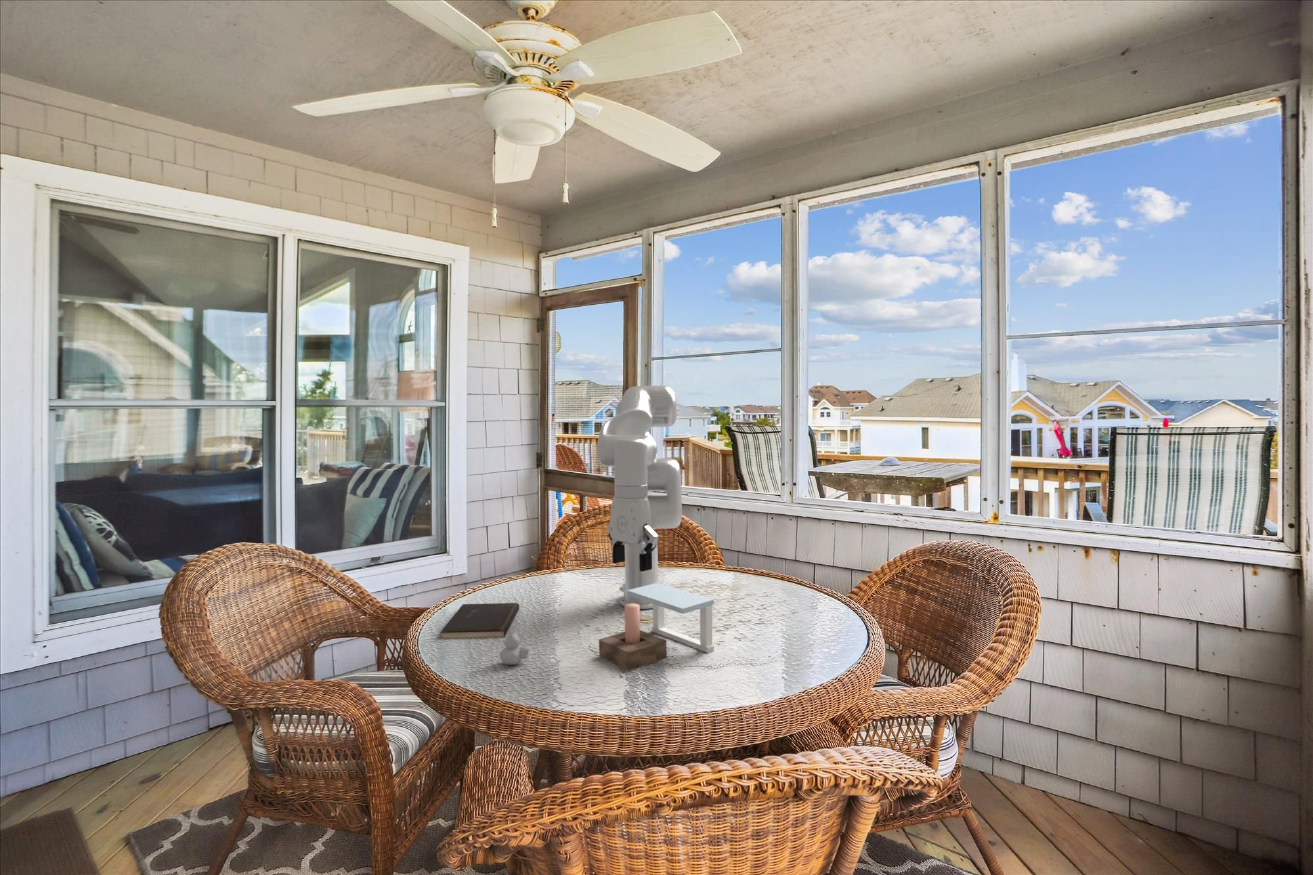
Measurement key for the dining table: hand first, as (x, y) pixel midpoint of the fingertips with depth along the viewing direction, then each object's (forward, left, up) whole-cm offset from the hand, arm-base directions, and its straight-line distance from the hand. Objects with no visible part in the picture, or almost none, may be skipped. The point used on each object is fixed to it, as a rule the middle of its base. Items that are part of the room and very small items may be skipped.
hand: (632, 566), depth 150 cm
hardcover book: (-46, -15, -22) cm, 53 cm away
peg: (0, 0, -21) cm, 21 cm away
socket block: (0, 0, -21) cm, 21 cm away
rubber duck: (-15, -22, -21) cm, 34 cm away
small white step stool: (0, +11, -21) cm, 24 cm away
